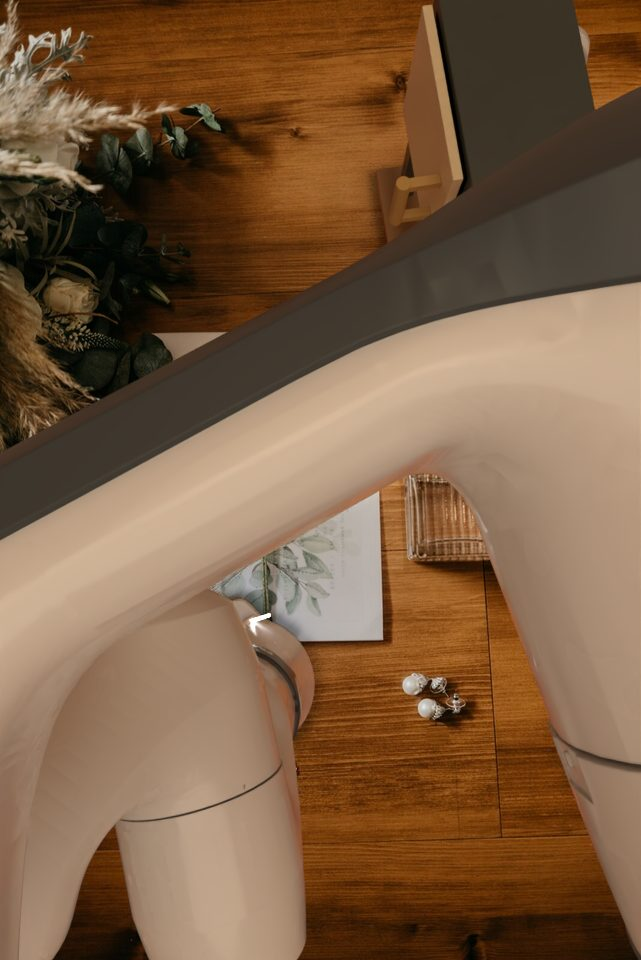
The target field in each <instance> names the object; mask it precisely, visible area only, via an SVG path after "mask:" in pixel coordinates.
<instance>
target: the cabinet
mask: <svg viewBox="0 0 641 960" xmlns="http://www.w3.org/2000/svg"><path fill="white" fill-rule="evenodd" d="M432 6H433V12H434V17H435V23H436V29H437V34H438V40H439V45H440V51H441V56H442V62H443V68H444V73H445V79H446V84H447V90H448V95H449V101H450V107H451V112H452V118H453V123H454V129H455V135H456V140H457V146H458V151H459V157H460V162H461V168H462V174H463V181H462V183H461V186H460V188H459V191H458V194H457V196H456V197H458V196H459V195H461V194H462V193H464V192H465V191H467V190H468V189H470V188H471V187H473V186H474V185H476V184H477V183H479V182H480V181H482V180H483V179H485V178H486V177H488V176H489V175H491V174H493V173H494V172H496V171H497V170H499V169H500V168H502V167H503V166H505V165H506V164H508V163H509V162H511V161H512V160H514V159H516V158H517V157H519V156H520V155H522V154H523V153H525V152H526V151H528V150H530V149H531V148H533V147H534V146H536V145H537V144H539V143H541V142H542V141H544V140H545V139H547V138H549V137H550V136H552V135H553V134H555V133H557V132H558V131H560V130H562V129H563V128H565V127H567V126H568V125H570V124H572V123H573V122H575V121H577V120H578V119H580V118H582V117H583V116H585V115H587V114H589V113H591V112H592V111H594V110H596V107H595V102H594V98H593V92H592V87H591V82H590V78H589V73H588V67H587V64H586V62H585V57H584V52H583V47H582V41H581V36H580V31H579V26H580V25H579V22H578V21H579V20H578V17H577V11H576V6H575V3H574V0H433V3H432ZM402 166H403V167H402V172H401V176H406V177H408V178H414V172H413V166H412V160H411V154H410V148H409V143H408V142H407V145H406V148H405V154H404V157H403V163H402ZM401 176H400V177H401ZM413 193H414V192H409V195H408V196H412V195H413Z"/></svg>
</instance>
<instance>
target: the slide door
mask: <svg viewBox="0 0 641 960" xmlns="http://www.w3.org/2000/svg"><path fill="white" fill-rule="evenodd" d="M418 21H419V22H418V26H417V27H418V28H417V31H416V37H415V43H414V48H413V53H412V58H411V65H410V70H409V74H408V81H407V85H406V91H405V96H404V102H403V106H402V112H403V119H404V124H405V125H404V126H405V131H406V136H407V144H408V143H409V148H410V154H411V160H412V166H413V172H414V178H408V177H406V176H401V177H399V178H398V179H397V181H396V185H395V189H394V194H393V199H392V204H391V209H390V214H389V219H388V220H389V223H390V224H391V225H392V226H398V225H400V224H401V223H402V222H409V221H416V220H423V219H425V218H426V217H428V216H429V215H431V214H432V213H434V212H435V211H437V210H438V209H440V208H441V207H443V206H444V205H446V204H447V203H449V202H450V201H452V200H453V199H455V198H456V196H457V194H458V191H459V188H460V186H461V183H462V181H463V174H462V168H461V162H460V157H459V151H458V146H457V140H456V135H455V129H454V123H453V118H452V112H451V107H450V101H449V95H448V90H447V84H446V79H445V73H444V68H443V62H442V56H441V51H440V45H439V40H438V34H437V29H436V23H435V17H434V12H433V4H427V5H422V6H421V11H420V15H419V20H418ZM415 191H417V195H418V201H419V206H420V208H413V209H406V210H405V207H406V203H407V199H408V195H409V192H415Z"/></svg>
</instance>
